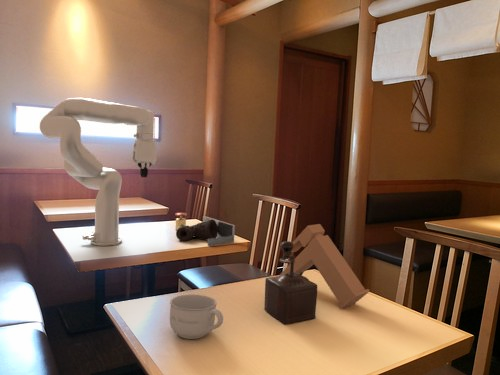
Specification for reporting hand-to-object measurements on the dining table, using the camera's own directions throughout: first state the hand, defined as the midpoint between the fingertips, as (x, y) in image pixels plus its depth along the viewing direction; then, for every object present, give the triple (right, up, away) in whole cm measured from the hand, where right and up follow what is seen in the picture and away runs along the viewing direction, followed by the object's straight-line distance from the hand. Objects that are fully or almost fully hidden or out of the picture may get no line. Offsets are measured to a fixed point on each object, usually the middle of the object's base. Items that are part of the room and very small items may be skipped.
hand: (143, 177), depth 189 cm
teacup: (+37, -40, -94) cm, 109 cm away
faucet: (+71, -38, -64) cm, 102 cm away
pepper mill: (+59, -39, -77) cm, 105 cm away
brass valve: (+14, -27, +15) cm, 34 cm away
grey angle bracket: (+29, -29, +1) cm, 41 cm away
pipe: (+25, -29, -1) cm, 38 cm away
